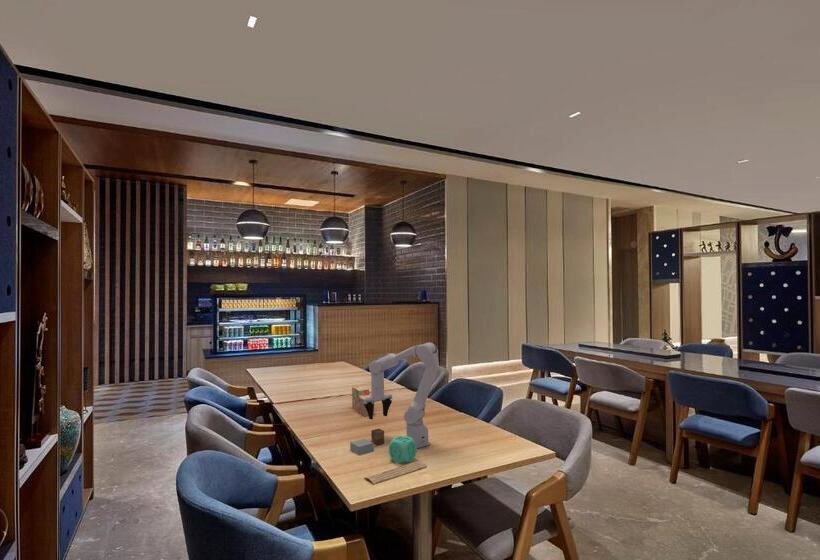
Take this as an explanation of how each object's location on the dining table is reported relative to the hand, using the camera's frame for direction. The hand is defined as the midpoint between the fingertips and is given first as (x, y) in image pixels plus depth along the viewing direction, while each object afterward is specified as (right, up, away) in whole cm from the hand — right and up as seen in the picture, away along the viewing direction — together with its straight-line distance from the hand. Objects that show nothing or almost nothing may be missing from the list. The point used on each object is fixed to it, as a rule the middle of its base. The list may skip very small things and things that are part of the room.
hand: (378, 417), depth 192 cm
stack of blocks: (-12, -12, +46) cm, 49 cm away
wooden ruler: (+9, -9, -37) cm, 40 cm away
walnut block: (0, -9, -6) cm, 11 cm away
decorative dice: (+12, -9, -25) cm, 29 cm away
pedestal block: (-6, -9, -15) cm, 18 cm away
